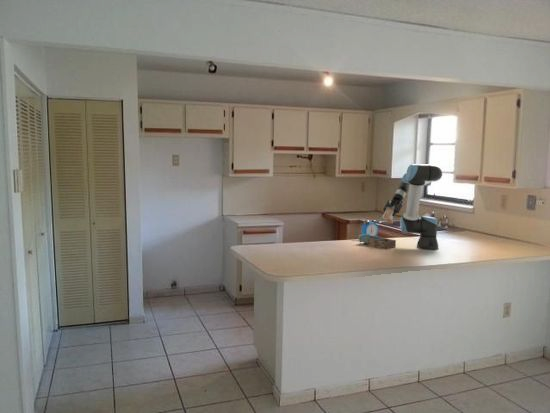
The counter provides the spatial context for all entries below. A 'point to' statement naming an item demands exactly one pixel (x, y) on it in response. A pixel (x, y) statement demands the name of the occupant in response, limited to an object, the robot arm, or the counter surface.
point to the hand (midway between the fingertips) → (386, 218)
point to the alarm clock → (370, 228)
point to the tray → (367, 236)
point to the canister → (388, 213)
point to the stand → (382, 243)
